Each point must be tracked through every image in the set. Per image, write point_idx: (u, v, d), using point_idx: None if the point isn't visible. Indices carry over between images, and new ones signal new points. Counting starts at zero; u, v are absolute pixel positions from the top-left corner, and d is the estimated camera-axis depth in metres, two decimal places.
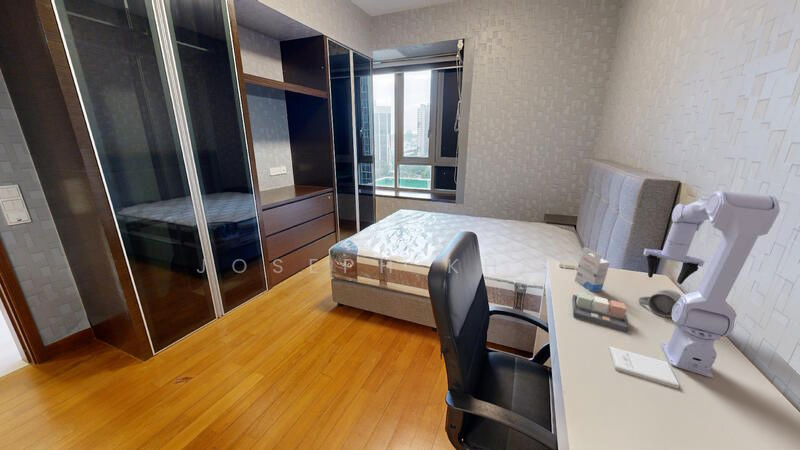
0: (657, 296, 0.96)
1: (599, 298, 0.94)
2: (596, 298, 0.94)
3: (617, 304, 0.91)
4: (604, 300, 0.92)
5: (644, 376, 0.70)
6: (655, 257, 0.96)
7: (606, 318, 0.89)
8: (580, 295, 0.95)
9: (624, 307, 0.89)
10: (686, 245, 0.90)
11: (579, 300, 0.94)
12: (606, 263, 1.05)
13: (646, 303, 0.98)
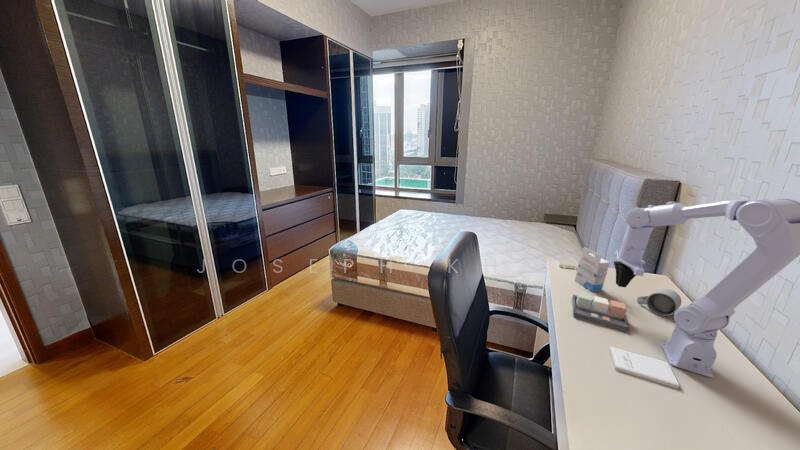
0: (655, 295, 0.96)
1: (599, 298, 0.94)
2: (596, 298, 0.94)
3: (617, 304, 0.91)
4: (604, 300, 0.92)
5: (644, 376, 0.70)
6: None
7: (606, 318, 0.89)
8: (580, 295, 0.95)
9: (624, 307, 0.89)
10: (626, 246, 0.87)
11: (579, 300, 0.94)
12: (606, 263, 1.05)
13: (645, 302, 0.98)
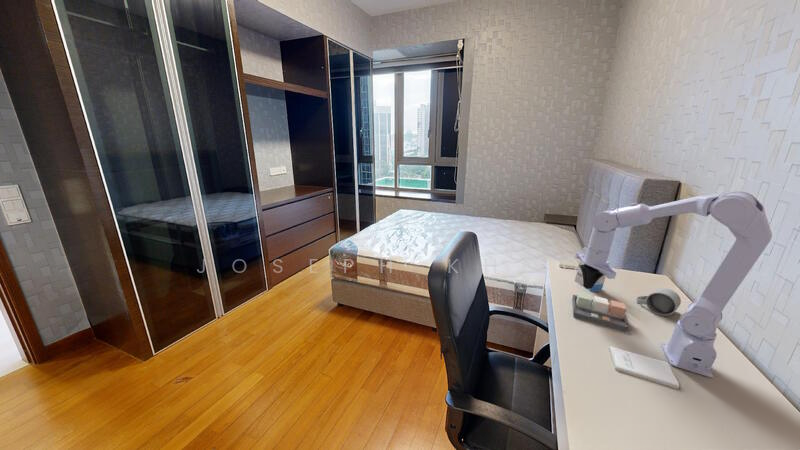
0: (655, 295, 0.97)
1: (599, 298, 0.94)
2: (596, 298, 0.94)
3: (617, 304, 0.91)
4: (604, 300, 0.92)
5: (644, 376, 0.70)
6: None
7: (606, 318, 0.89)
8: (580, 295, 0.95)
9: (624, 307, 0.89)
10: (594, 250, 0.88)
11: (579, 300, 0.94)
12: None
13: (644, 302, 0.98)
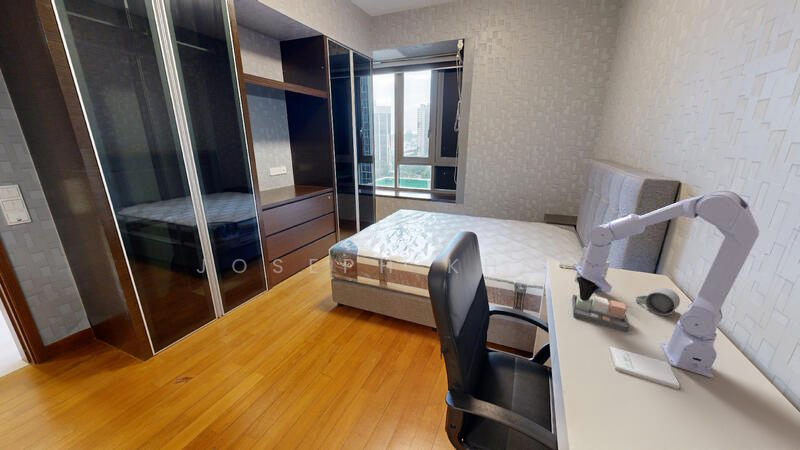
0: (654, 295, 0.97)
1: (599, 298, 0.94)
2: (596, 298, 0.94)
3: (617, 304, 0.91)
4: (604, 300, 0.92)
5: (644, 376, 0.70)
6: None
7: (606, 318, 0.89)
8: (579, 298, 0.95)
9: (624, 307, 0.89)
10: (590, 263, 0.89)
11: (578, 303, 0.94)
12: (606, 263, 1.05)
13: (644, 302, 0.99)
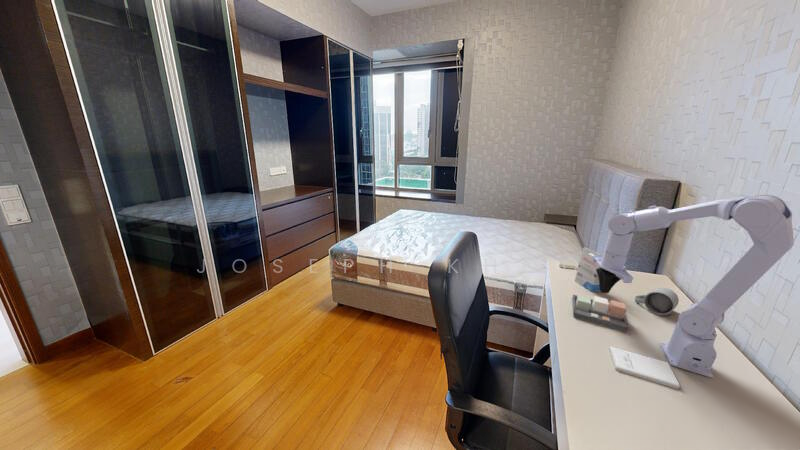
0: (653, 294, 0.97)
1: (599, 298, 0.94)
2: (596, 298, 0.94)
3: (617, 304, 0.91)
4: (604, 300, 0.92)
5: (644, 376, 0.70)
6: None
7: (606, 318, 0.89)
8: (579, 298, 0.95)
9: (624, 307, 0.89)
10: (610, 254, 0.86)
11: (578, 303, 0.95)
12: None
13: (642, 301, 0.99)
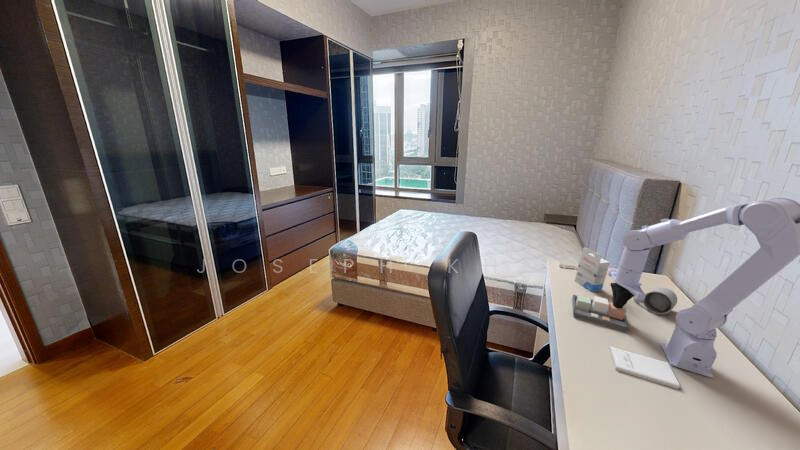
0: (652, 294, 0.97)
1: (599, 298, 0.94)
2: (596, 298, 0.94)
3: None
4: (604, 300, 0.92)
5: (644, 376, 0.70)
6: None
7: (606, 318, 0.89)
8: (579, 298, 0.95)
9: (623, 309, 0.90)
10: (624, 269, 0.85)
11: (578, 303, 0.95)
12: (606, 263, 1.05)
13: (641, 301, 0.99)
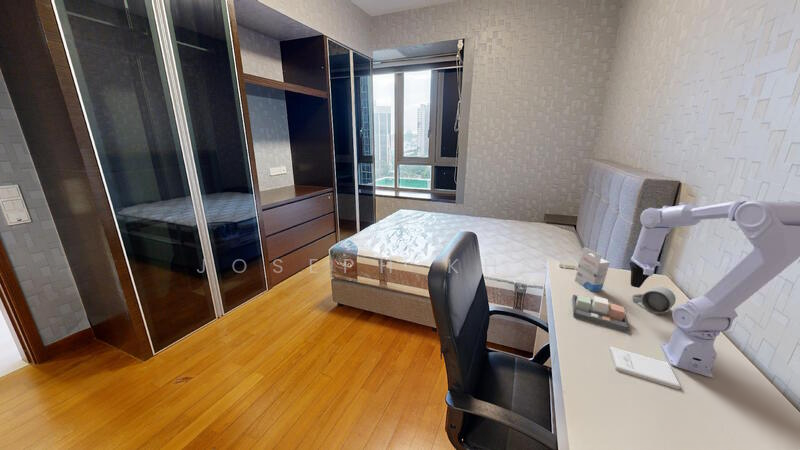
0: (650, 293, 0.98)
1: (599, 298, 0.94)
2: (596, 298, 0.94)
3: (616, 307, 0.91)
4: (604, 300, 0.92)
5: (645, 377, 0.70)
6: None
7: (606, 318, 0.89)
8: (579, 298, 0.95)
9: (623, 310, 0.90)
10: (639, 246, 0.88)
11: (578, 303, 0.95)
12: (606, 263, 1.05)
13: (640, 300, 0.99)
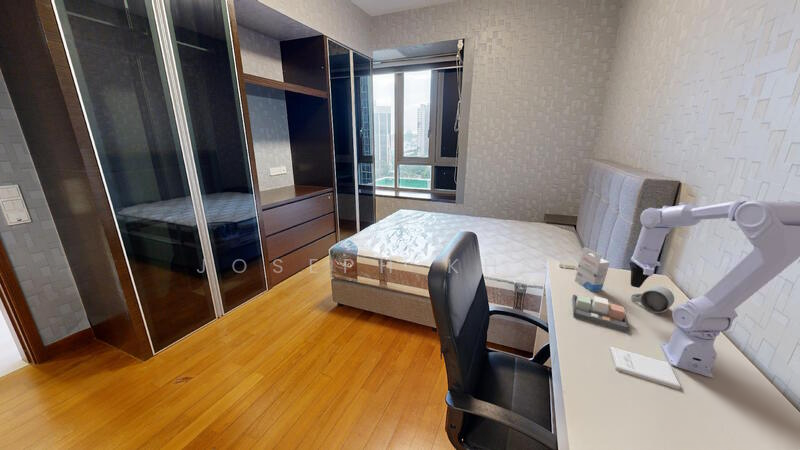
0: (649, 293, 0.98)
1: (599, 298, 0.94)
2: (596, 298, 0.94)
3: (616, 307, 0.91)
4: (604, 300, 0.92)
5: (645, 377, 0.70)
6: None
7: (606, 318, 0.89)
8: (579, 298, 0.95)
9: (623, 310, 0.90)
10: (639, 246, 0.88)
11: (578, 303, 0.95)
12: (606, 263, 1.05)
13: (639, 300, 1.00)
